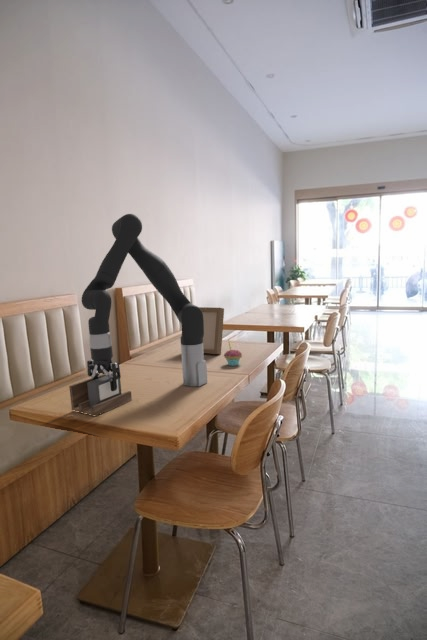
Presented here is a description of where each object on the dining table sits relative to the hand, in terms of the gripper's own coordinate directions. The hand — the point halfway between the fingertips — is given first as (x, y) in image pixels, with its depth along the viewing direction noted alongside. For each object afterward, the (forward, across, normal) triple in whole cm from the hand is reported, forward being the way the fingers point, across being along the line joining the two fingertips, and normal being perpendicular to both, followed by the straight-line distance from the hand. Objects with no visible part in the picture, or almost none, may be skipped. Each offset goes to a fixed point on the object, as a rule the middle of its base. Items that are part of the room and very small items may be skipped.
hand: (105, 389), depth 153 cm
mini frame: (+5, 0, 0) cm, 5 cm away
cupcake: (+7, -14, -69) cm, 71 cm away
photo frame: (+7, +14, -88) cm, 89 cm away
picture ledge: (+7, +2, 0) cm, 7 cm away
